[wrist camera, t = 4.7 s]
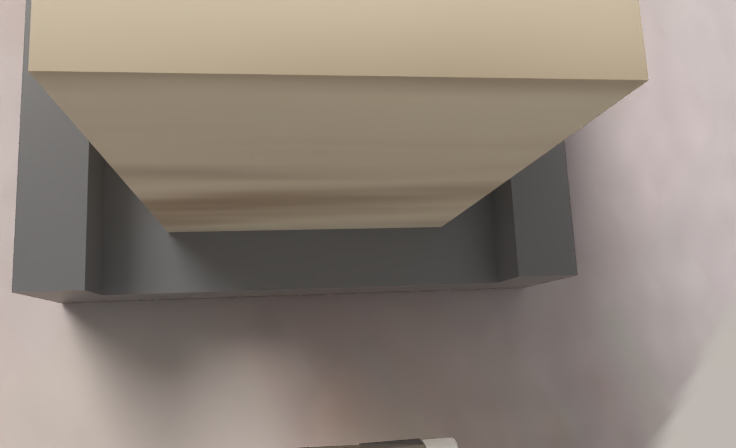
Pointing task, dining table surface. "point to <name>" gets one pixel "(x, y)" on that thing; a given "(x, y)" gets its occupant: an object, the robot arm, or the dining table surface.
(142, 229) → the grey rimmed tray
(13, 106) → the dining table surface
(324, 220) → the block
